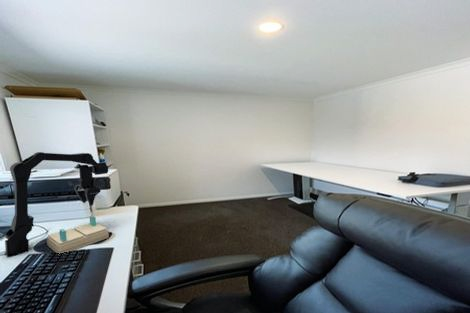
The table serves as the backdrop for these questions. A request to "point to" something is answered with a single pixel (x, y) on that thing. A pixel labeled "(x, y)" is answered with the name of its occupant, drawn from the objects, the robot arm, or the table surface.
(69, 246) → the carton
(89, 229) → the flap far
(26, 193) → the robot arm
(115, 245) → the table surface
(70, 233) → the flap near
